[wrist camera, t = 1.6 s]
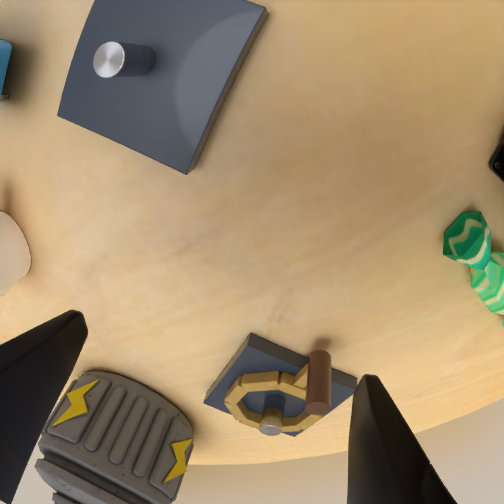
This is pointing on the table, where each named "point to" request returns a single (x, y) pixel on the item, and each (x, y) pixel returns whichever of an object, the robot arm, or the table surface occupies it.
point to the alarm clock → (4, 64)
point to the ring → (301, 385)
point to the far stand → (272, 401)
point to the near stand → (158, 72)
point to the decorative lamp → (114, 444)
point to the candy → (477, 258)
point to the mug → (12, 254)
